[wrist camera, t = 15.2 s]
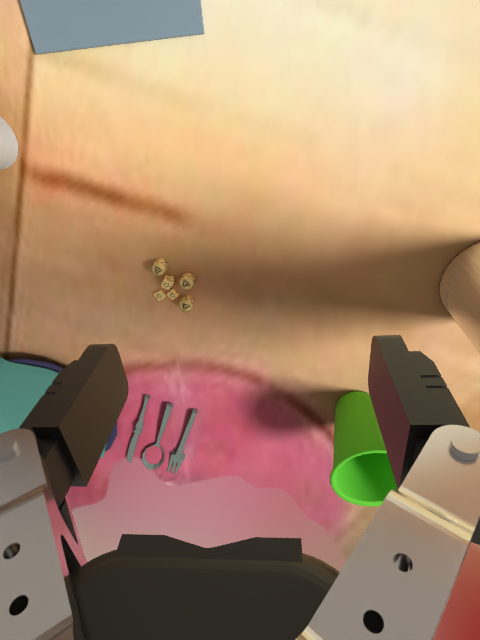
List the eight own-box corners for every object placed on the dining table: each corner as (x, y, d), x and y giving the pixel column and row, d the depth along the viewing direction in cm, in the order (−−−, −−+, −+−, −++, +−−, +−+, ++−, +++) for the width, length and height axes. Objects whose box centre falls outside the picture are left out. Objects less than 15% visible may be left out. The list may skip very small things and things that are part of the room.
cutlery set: (-26, 331, 49) (-38, 342, 47) (206, 396, 52) (204, 409, 50) (-19, 433, 59) (-29, 445, 57) (173, 482, 63) (170, 495, 61)
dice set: (156, 253, 42) (151, 261, 40) (203, 267, 42) (200, 275, 41) (149, 293, 45) (144, 302, 43) (193, 306, 45) (190, 314, 43)
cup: (313, 426, 53) (322, 501, 43) (328, 373, 48) (341, 445, 38) (380, 434, 52) (403, 511, 43) (402, 382, 48) (433, 457, 38)
